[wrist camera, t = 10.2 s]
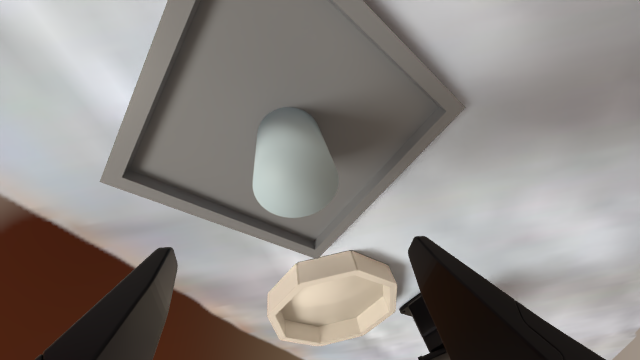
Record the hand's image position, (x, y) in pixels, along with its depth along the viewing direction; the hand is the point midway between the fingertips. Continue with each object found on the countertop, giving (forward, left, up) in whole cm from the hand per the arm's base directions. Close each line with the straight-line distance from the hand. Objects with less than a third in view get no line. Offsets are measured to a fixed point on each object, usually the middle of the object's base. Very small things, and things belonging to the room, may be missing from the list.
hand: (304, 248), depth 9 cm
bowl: (-16, +15, -11) cm, 25 cm away
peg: (0, 0, -10) cm, 10 cm away
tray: (0, 0, -11) cm, 11 cm away
